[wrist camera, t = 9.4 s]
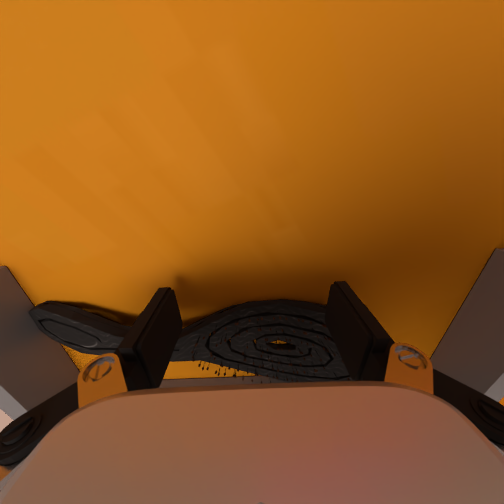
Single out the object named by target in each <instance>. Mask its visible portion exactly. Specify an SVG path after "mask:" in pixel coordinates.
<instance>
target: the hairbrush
mask: <svg viewBox="0 0 504 504" xmlns="http://www.w3.org/2000/svg"><path fill="white" fill-rule="evenodd" d="M43 303H48V304H43ZM43 303H41V304H39V305H37V306H35V307H34V308H32V309H31V310H30V311H28V313H29V315H30V316H31V318H32V319H33V321H34V322H35V324H36V326H37V327H38V329H39V330H40V331H41V332H43V333H44V334H45V335H47V336H48V337H49V338H51V339H52V340H54V341H56V342H59V343H61V344H63V345H65V346H67V347H70V348H72V349H74V350H76V351H78V352H81V353H86V354H94V355H103V354H107V353H114V352H115V350H116V349H117V348H118V346H119V345H120V343H121V342H122V340H123V339H124V337H125V336H126V334H127V333H128V331H129V330H130V328H131V326H125V325H121V324H118V323H116V322H113V321H111V320H108V319H105V318H103V317H100V316H98V315H95V314H93V313H90V312H88V311H85V310H82V309H80V308H77V307H74V306H70V305H66V304H62V303H58V302H55V301H46V302H43ZM238 305H239V306H238ZM235 306H237V307H235ZM231 307H234V308H232V309H229V310H227V311H224V310H226V309H228V308H231ZM326 308H327V306H325V305H320V304H316V303H310V302H303V301H300V302H299V301H297V300H296V301H292V300H284V299H279V300H267V301H254V302H247V303H243V304H237V305H232V306H230V307H227V308H225V309H223V310H220V311H218V312H216V313H214V314H212V315H210V316H208V317H206V318H204V319H202V320H200V321H198V322H196V323H194V324H192V325H190V326H188V327H185V328H183V329H182V330H181V333H180V335H179V338H178V340H177V343H176V346H175V348H174V351H173V353H172V356H171V359H170V361H171V362H174V361H197V360H201V361H205V362H209V363H213V364H217V365H220V366H222V367H223V366H225V367H229V368H228V369H229V370H230V368H233V369H234V371H235V369H237V371H239V370H241V371H246V372H247V374H248V373H249V372H250V373H254V374H255V376H256V375H257V376H258V375H262V376H266V377H270V378H273V379H277V380H282V381H286V382H290V383H294V382H325V381H355V380H352V379H351V377H350V375H349V373H348V371H347V368H346V366H345V364H344V362H343V360H342V358H341V356H340V353H339V351H338V349H337V347H336V345H335V343H334V341H333V338H332V336H331V334H330V332H329V330H328V328H327V326H326V323H325V313H326ZM223 311H224V312H223ZM210 333H211V336H210V338H209V335H210ZM230 338H231V339H230ZM228 339H230V341H231V344H230V341H229V340H228ZM254 339H256V341H255V342H256V343H255V342H254V341H253V340H254ZM277 340H281V341H284V342H286V343H288V344H282V345H281V344H280V345H279V344H277V342H276V344H275V343H269V342H272V341H277ZM328 351H329V352H328ZM200 363H201V362H200ZM204 364H205V363H204ZM200 365H201V364H199V366H198V367H200ZM208 366H209V365H208ZM208 369H209V367H207V370H208ZM202 370H204V366H203V368H202ZM225 371H226V369H225ZM219 372H220V369H219ZM216 373H217V371H216V372H215V374H216ZM219 374H220V373H218V376H219ZM225 375H226V373H224V376H225ZM233 377H235V378H236V372H235V374H234V375H233ZM242 380H244V378H242ZM268 380H269V379H268ZM251 381H252V382H253V379H252V380H251ZM270 383H271V381H270ZM261 384H262V381H261Z"/></svg>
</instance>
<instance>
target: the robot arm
mask: <svg viewBox="0 0 504 504" xmlns="http://www.w3.org/2000/svg"><path fill="white" fill-rule="evenodd" d="M325 323H326V326H327V328H328V330H329V332H330V334H331V336H332V338H333V341H334V343H335V345H336V347H337V349H338V351H339V353H340V356H341V358H342V360H343V362H344V364H345V366H346V368H347V371H348V373H349V375H350V377H351V379H352V380H355V381H325V382H294V383H266V384H239V385H215V386H192V387H172V388H158V387H159V386H160V385H161V382H162V380H163V377H164V374H165V372H166V369H167V367H168V364H169V361H170V359H171V356H172V353H173V351H174V348H175V346H176V343H177V340H178V338H179V335H180V333H181V330H182V325H183V324H182V319H181V315H180V311H179V308H178V304H177V300H176V296H175V292H174V290H171V288H170V287H164V288H159V289H158V290H157V292H156V293H155V295H154V296H153V298H152V299H151V300H150V302H149V303H148V305H147V306H146V308H145V309H144V311H143V312H142V313H141V314H140V315H139V317H138V318H137V320H136V321H135V323H134V324H133V326H132V327H131V328H130V330H129V331H128V333H127V334H126V336H125V337H124V339H123V340H122V342H121V343H120V345H119V346H118V348H117V349H116V350H115V352H114V353H107V354H103V355H100V356H98V357H96V358H95V359H93V360H91V361H90V362H89V363H88V364H86V365H85V366H84V368H83V369H82V370H81V372H80V373H79V375H78V380H77V382H75V383H74V384H72V385H70V386H69V387H67V388H65V389H64V390H62V391H61V392H59V393H57V394H56V395H54V396H52V397H51V398H49V399H47V400H46V401H44V402H42V403H41V404H39V405H37V406H36V407H34V408H32V409H31V410H29V411H27V412H26V413H24V414H22V415H21V416H19V417H18V418H16V419H15V420H14V421H12V422H11V423H10V424H9V425H8V426H6V427H5V428H4V429H3V430H2V431H1V432H0V504H504V406H503V405H501V404H500V403H499V402H497V401H495V400H494V399H492V398H490V397H488V396H486V395H484V394H482V393H480V392H479V391H477V390H475V389H473V388H471V387H469V386H467V385H465V384H463V383H461V382H459V381H457V380H455V379H453V378H451V377H449V376H447V375H445V374H443V373H441V372H439V371H437V370H435V369H434V368H433V366H432V363H431V361H430V359H429V358H428V357H427V356H426V355H425V354H424V353H423V352H422V351H420V350H419V349H418V348H416V347H414V346H412V345H409V344H406V343H400V342H399V343H395V342H394V341H393V340H392V338H391V337H390V336H389V335H388V333H387V332H386V331H385V330H384V328H383V327H382V326H381V325H380V323H379V322H378V321H377V320H376V318H375V317H374V316H373V314H372V313H371V312H370V311H369V309H368V308H367V307H366V306H365V305H364V304H363V303H362V302H361V300H360V299H359V298H358V297H357V295H356V294H355V293H354V291H353V290H352V289H351V288H350V286H349V285H348V284H347V283H346V282H345V281H337V282H334V284H331V287H330V292H329V298H328V303H327V308H326V313H325Z"/></svg>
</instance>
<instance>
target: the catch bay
mask: <svg viewBox="0 0 504 504" xmlns="http://www.w3.org/2000/svg"><path fill="white" fill-rule="evenodd" d="M32 308H34V306H33V304H32V303H31V301H30V300H29V299H28V297H27V296H26V294H25V293H24V291H23V290H22V289H21V287H20V286H19V284H18V283H17V281H16V280H15V278H14V277H13V276H12V274H11V273H10V271H9V270H8V268H7V267H6V266H0V409H1V410H3V411H4V412H5V413H6V414H7V415H8V416H10V417H11V418H12V419H13V420H15V419H16V418H18V417H19V416H21V415H22V414H24V413H26V412H27V411H29V410H31V409H32V408H34V407H36V406H37V405H39V404H41V403H42V402H44V401H46V400H47V399H49V398H51V397H52V396H54V395H56V394H57V393H59V392H61V391H62V390H64V389H65V388H67V387H69V386H70V385H72V384H74V383H75V382H77V380H78V375H79V373H80V372H79V370H78V369H77V367H76V366H75V364H74V363H73V362H72V360H71V359H70V357H69V356H68V354H67V353H66V352H65V350H64V349H63V347H62V346H61V344H60V343H59V342H56V341H54V340H52V339H51V338H49V337H48V336H47V335H45V334H44V333H43V332H41V331H40V330H39V329H38V327H37V326H36V324H35V322H34V321H33V319H32V318H31V316H30V315H29V313H28V311H30V310H31V309H32ZM430 361H431V363H432V366H433V368H434V369H435V370H437V371H439V372H441V373H443V374H445V375H447V376H449V377H451V378H453V379H455V380H457V381H459V382H461V383H463V384H465V385H467V386H469V387H471V388H473V389H475V390H477V391H479V392H480V393H482V394H484V395H486V396H488V397H490V398H492V399H494V400H495V401H497V402H499V401H500V400H501V399H502V398H503V397H504V248H503V249H495V251H494V253H493V254H492V256H491V258H490V259H489V261H488V263H487V264H486V266H485V268H484V269H483V271H482V273H481V274H480V276H479V278H478V280H477V281H476V283H475V285H474V286H473V288H472V290H471V291H470V293H469V295H468V296H467V298H466V300H465V301H464V303H463V305H462V306H461V308H460V310H459V311H458V313H457V315H456V316H455V318H454V320H453V322H452V323H451V325H450V327H449V328H448V330H447V332H446V333H445V335H444V337H443V338H442V340H441V342H440V343H439V345H438V347H437V348H436V350H435V352H434V353H433V355H432V357H431V359H430ZM242 378H244V380H242ZM252 379H253V382H252V381H251V380H252ZM268 379H269V380H268ZM261 381H262V384H266V383H270V381H271V383H290V382H286V381H282V380H277V379H273V378H270V377H266V376H249V377H236V378H235V377H223V378H196V379H170V380H162V382H161V385H160V386H159V387H158V388H172V387H192V386H215V385H239V384H261Z"/></svg>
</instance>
